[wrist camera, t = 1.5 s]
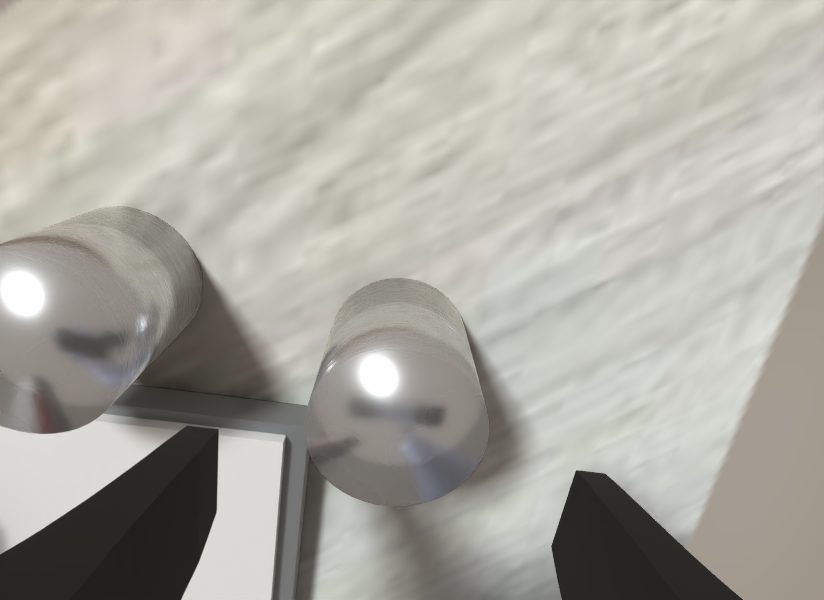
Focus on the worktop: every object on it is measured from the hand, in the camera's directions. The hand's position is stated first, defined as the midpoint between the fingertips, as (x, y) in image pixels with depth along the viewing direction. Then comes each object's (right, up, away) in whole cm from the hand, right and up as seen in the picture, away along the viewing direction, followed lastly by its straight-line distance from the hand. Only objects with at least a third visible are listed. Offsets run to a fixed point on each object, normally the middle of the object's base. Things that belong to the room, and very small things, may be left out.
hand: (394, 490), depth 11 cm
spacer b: (-8, +5, +6) cm, 11 cm away
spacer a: (0, +2, +7) cm, 7 cm away
